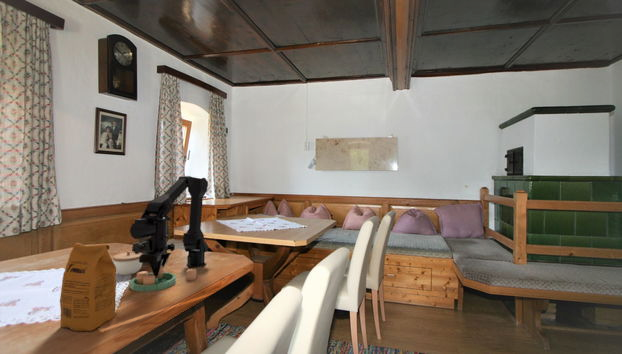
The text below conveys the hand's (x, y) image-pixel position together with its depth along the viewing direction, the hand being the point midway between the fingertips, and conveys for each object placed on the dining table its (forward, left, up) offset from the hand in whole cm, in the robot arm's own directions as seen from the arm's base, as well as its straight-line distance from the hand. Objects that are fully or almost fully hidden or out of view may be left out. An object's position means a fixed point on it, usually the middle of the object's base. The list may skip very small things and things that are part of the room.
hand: (158, 274), depth 117 cm
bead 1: (+6, 0, -2) cm, 6 cm away
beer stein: (-12, -31, -3) cm, 34 cm away
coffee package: (+27, +18, -3) cm, 32 cm away
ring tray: (+3, +3, -3) cm, 5 cm away
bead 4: (-9, +8, -3) cm, 12 cm away
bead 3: (0, 0, -1) cm, 1 cm away
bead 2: (+6, +6, -2) cm, 8 cm away
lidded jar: (+4, -18, -3) cm, 19 cm away
